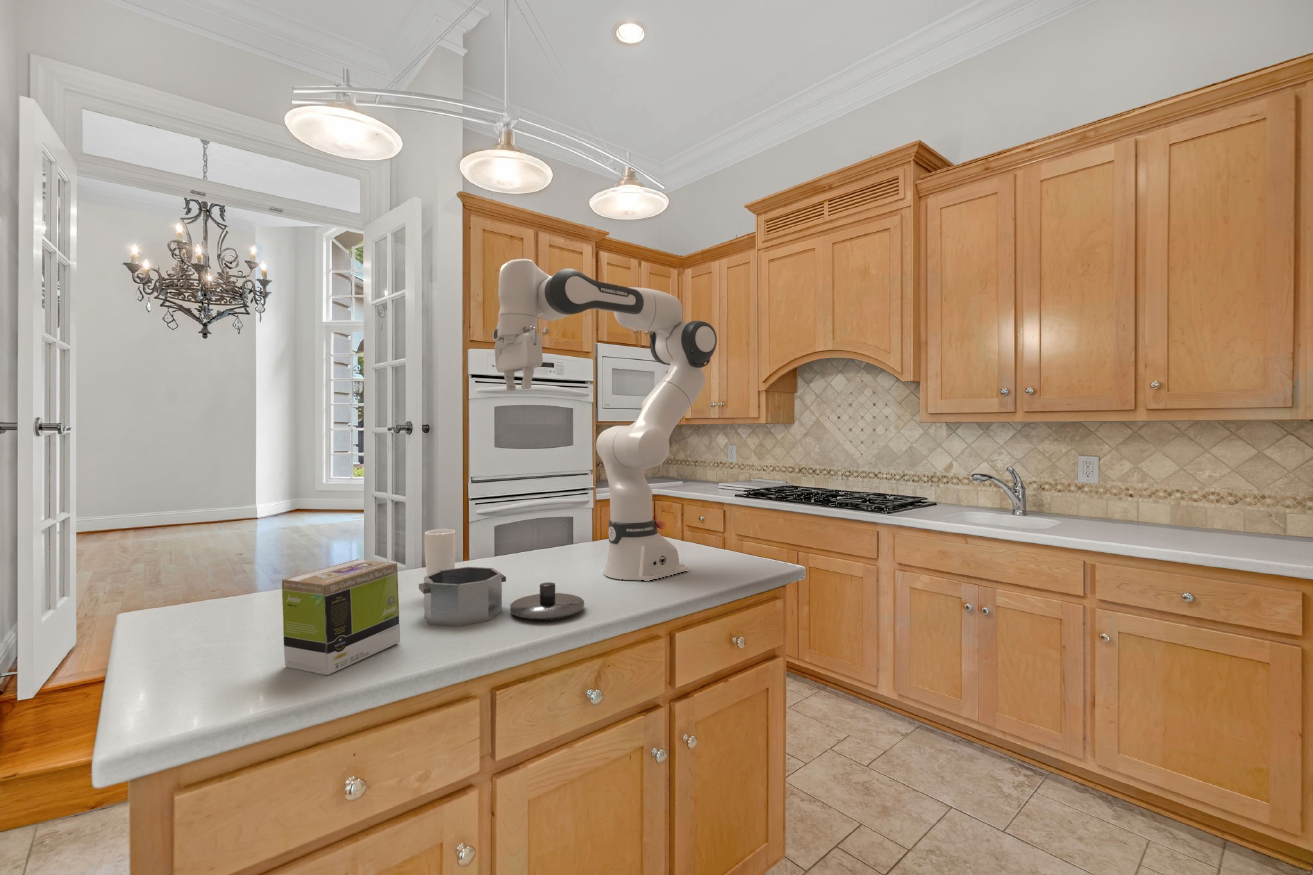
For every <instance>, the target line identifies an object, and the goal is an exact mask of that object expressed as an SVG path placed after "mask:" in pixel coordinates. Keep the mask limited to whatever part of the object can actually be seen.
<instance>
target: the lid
mask: <svg viewBox="0 0 1313 875" xmlns="http://www.w3.org/2000/svg"><path fill="white" fill-rule="evenodd" d="M509 608H510V609H509V611H510V613H511V614H512V615H513V616H517V617H519V618H523V619H527V620H531V619H532V620H533V621H553V619H555V620H560V619H563V618H562V617H564V618H567V617H569V616H573V615H575V614H577V613H579V612H581V611H583V609H584V608H585V600H584V599H583V598H582V597H580V596H578V595H575V594H570V593H561V592H560V593H556V583H555V582H542V583H540V584H539V593H536V594H531V595H526V596H523V597H520V598H517V599H515V600H514V601H512V602H511V603H510V606H509ZM566 616H567V617H566ZM559 618H560V619H559ZM551 619H552V620H551Z"/></svg>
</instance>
